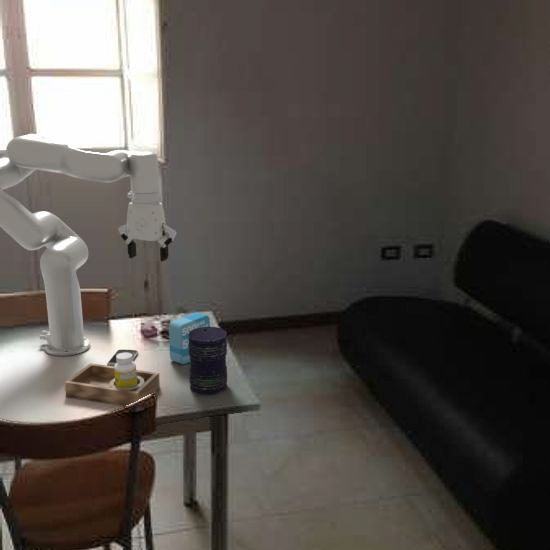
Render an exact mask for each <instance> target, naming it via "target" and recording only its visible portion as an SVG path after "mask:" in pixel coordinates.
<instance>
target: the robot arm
mask: <svg viewBox="0 0 550 550" xmlns="http://www.w3.org/2000/svg"><path fill="white" fill-rule="evenodd" d="M35 171H43V172H52V173H57V174H63V175H66V176H69V177H72V178H75V179H80V180H83V181H84V180H85V181H90V182H91V181H93V182H98V183H99V182H100V183H113V182H117V181H118V180H122V179H124V178H127V177H129V178H130V192H127V195H126V196H127V198H129V199H130V202H128V206H127V213H126V223H125V224H122V225H121V226H119V227H118V228H117V230H118V232H119V234H120V236H121V238H122V239H123V240H124V243H125V245H127V254H128V258H129V259H133V258H135V257H137V243H136V241H135V240H138V241H148V242H149V241H150V242H156V241H157V242H158V243H159V244H160V246H161V247H159V254H160V255H159V257H160V261H161V262H164V261H167V259H168V258H169V246H170V245H171V243H172V242H174V240H175V237H176V235H177V230H175V229H173V228H172V227H170V226H169V225H167V223H166V216H165V210H164V206H163V204H162V202H160V179H159V178H160V177H159V159H158V155H157V154H156V153H154V152H152V151H129V150H125V149H124V150H122V149H117V150H115V149H114V150H111V151H109V152H106V153H102V152H101V153H100V152H94V151H93V152H92V151H85V150H82V149H78V148H75V147H74V146H72V144H71V143H70V142H68V141H64V140H63V141H59V140H55V139H46V138H45V137H44V136H43V135H41V134H36V133H31V134H29V133H28V134H25V135H19V136H16V137H14V138H12V139H11V140H9V141H8V143H7V146H6V149H5V154H4V155H3V156H2V157H0V228H1V229H2V230H3V231H4V232H5V233H6V234H7V235H8V236H10V237H11V238H12V239H13V240H15V242H17V244H19V246H21V247H22V248H23V249H25V250H27V251H36V250H39V249H41V248H43V247H46V249H45V250H44V251H43V252H42V254H41V257H40V260H39V268H40V272H41V275H42V276H41V277H42V279H43V283H44V289H45V298H46V308H47V309H46V311H47V319H48V321H47V322H48V330H41V331H40V336H39V340H43V341H46V342H47V343H46V344H45V351H46V353H48V354H50V355H52V356H56V357H57V356H61V357H67V356H74V355H77V354H80V353H83V352H85V351H87V350H88V349H90V346H91V341H90V339H88V338H86V337H85V333H84V322H83V321H84V320H83V307H82V296H81V287H80V283H79V279H78V276H77V270H79V268H80V267H82V266H83V265H84V264H85V263H86V262H87V260H88V258H89V249H88V245H87V244H86V242H85V241H84V240H83V238H81V236H79V235H78V234H77V233H76V232H75V231H74V230H72V229H71V227H70V226H68V225H67V224H66V223H65V222H64V221H63V220H62V219H61V218H60V217H58V216H57V215H55V214H53V213H52V212H49V211H44V210H43V211H42V210H41V211H37V212H33V213H32V212H31V211H30V210H28V208H26V207H25V206H24V205H23V204H22V203H21V202H20V201H18V200H17V199H16V198H14V197H12V196H11V195H9V194H7V193H6V192H4V190H5V189H8V188H11V187H12V188H13V187H15V186H16V185H18V184H19V183H21V182H22V181H24V180H25V179H26V178H28V177H29V176H30V175H31V174H32V173H34V172H35ZM166 234H168V235H169V236H168V238H167V237H166Z"/></svg>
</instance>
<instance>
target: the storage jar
mask: <svg viewBox="0 0 550 550" xmlns="http://www.w3.org/2000/svg"><path fill="white" fill-rule="evenodd" d="M227 334H228V333H227V331H226V330H225V329H223V328H220V327H217V326H210V327H200V328H196V329H193V330H191V331H190V332H189V334H188V336H189V343H188V348H189V356H190V362H189V377H188V379H189V380H188V381H189V389H190V391H191V392H192V393H193V394H195V395H199V396H205V397H207V396H216V395H219V394H223V392H225V391H226V390H227V388H228V367H227V354H228V349H227V348H228V341H227V340H228V339H227Z"/></svg>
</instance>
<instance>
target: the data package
mask: <svg viewBox="0 0 550 550" xmlns="http://www.w3.org/2000/svg"><path fill="white" fill-rule="evenodd" d="M210 323H211V319H210V317H209V315H206V314H204V313H200V312H197V311H196V312H192V313H190V314H187V315H185V316H182V317H180V318H177V319H174V320H171V322H169V325H168V338H169V339H168V341H169V358H170V360H172V361H174V362H175V363H179V364H180V365H187V364H188V363H190V356H189V348H188V343H189V336H188V334H189V332H190V331H191V330H193V329H196V328H200V327H211V324H210Z"/></svg>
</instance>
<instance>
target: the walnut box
mask: <svg viewBox="0 0 550 550" xmlns="http://www.w3.org/2000/svg"><path fill="white" fill-rule="evenodd" d="M136 373H137V386H134V387H132V388H118V387H116V385H115V373H114V366H107V364H99V363H92V362H90V363H88V365H86V366H85V367H84V368H82V369H81V370H79V371H78V372H76V373H75V374H74V375H72V376H71V377H70V378H69V379H67V380H66V381H65V382H64V389H65V390H64V391H65V398H70V399H78V400H83V401H90V402H94V403H95V402H97V403H101V404H107V405H112V406H113V405H115V406H120V407H125V406H126V405H129V404H131V403H134V402H136V401H138V400H139V399H141V398H143V397H145V396H147V395H149V394H152V393H153V394H155V392H156V391H157V390H159V388H161V386H160V384H161V383H160V372H155V371H148V370H147V371H146V370H140V369H136ZM153 394H152V395H153Z"/></svg>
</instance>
